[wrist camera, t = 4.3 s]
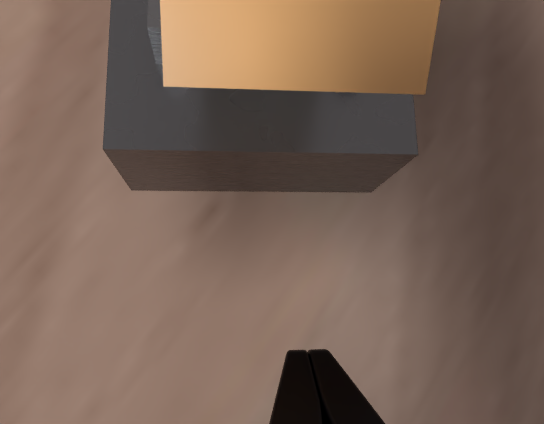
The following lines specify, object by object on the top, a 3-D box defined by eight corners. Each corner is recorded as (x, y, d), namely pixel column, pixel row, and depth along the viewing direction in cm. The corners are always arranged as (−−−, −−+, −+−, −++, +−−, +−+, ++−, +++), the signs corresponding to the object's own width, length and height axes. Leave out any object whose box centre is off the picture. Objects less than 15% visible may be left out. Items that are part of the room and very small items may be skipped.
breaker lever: (339, 56, 19) (424, 94, 11) (187, 50, 19) (163, 86, 11) (345, -9, 19) (444, -20, 10) (186, -18, 18) (158, -36, 10)
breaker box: (371, 192, 25) (446, 131, 17) (131, 190, 24) (85, 123, 15) (360, 17, 27) (422, -112, 19) (139, 6, 26) (101, -138, 18)
